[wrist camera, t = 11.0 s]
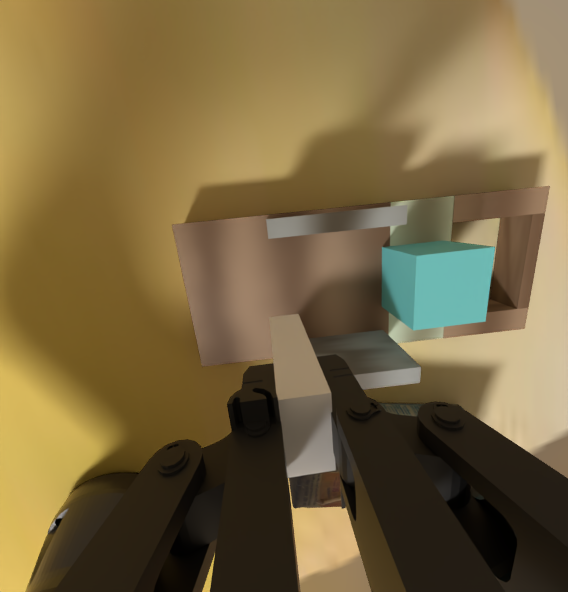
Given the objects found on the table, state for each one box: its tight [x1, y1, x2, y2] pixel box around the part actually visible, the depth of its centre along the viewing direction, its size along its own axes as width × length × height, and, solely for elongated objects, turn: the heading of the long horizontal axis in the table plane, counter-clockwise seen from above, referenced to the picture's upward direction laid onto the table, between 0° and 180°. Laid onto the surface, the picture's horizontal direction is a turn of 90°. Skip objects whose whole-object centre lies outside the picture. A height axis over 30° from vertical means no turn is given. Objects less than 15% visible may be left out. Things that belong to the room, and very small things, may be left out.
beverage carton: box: [289, 403, 464, 508], centre depth 27 cm, size 8×19×7 cm, turn 86°
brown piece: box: [172, 186, 550, 390], centre depth 20 cm, size 29×12×9 cm, turn 96°
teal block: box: [382, 241, 495, 330], centre depth 19 cm, size 5×5×5 cm
